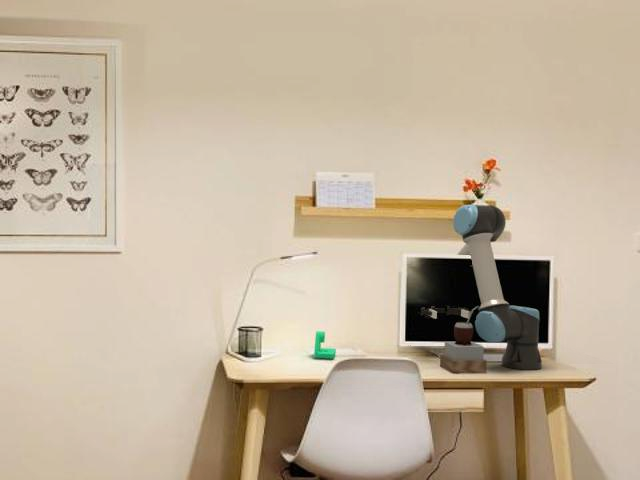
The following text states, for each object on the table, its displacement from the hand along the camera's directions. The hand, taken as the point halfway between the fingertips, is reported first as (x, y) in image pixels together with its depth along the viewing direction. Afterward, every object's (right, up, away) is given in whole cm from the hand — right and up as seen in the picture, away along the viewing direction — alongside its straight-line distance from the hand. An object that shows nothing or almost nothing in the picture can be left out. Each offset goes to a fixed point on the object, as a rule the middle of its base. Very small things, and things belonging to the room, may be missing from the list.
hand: (452, 315), depth 300 cm
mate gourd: (+3, -10, -9) cm, 14 cm away
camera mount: (-49, -18, +7) cm, 53 cm away
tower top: (+3, -15, -9) cm, 18 cm away
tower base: (+2, -20, -8) cm, 22 cm away
